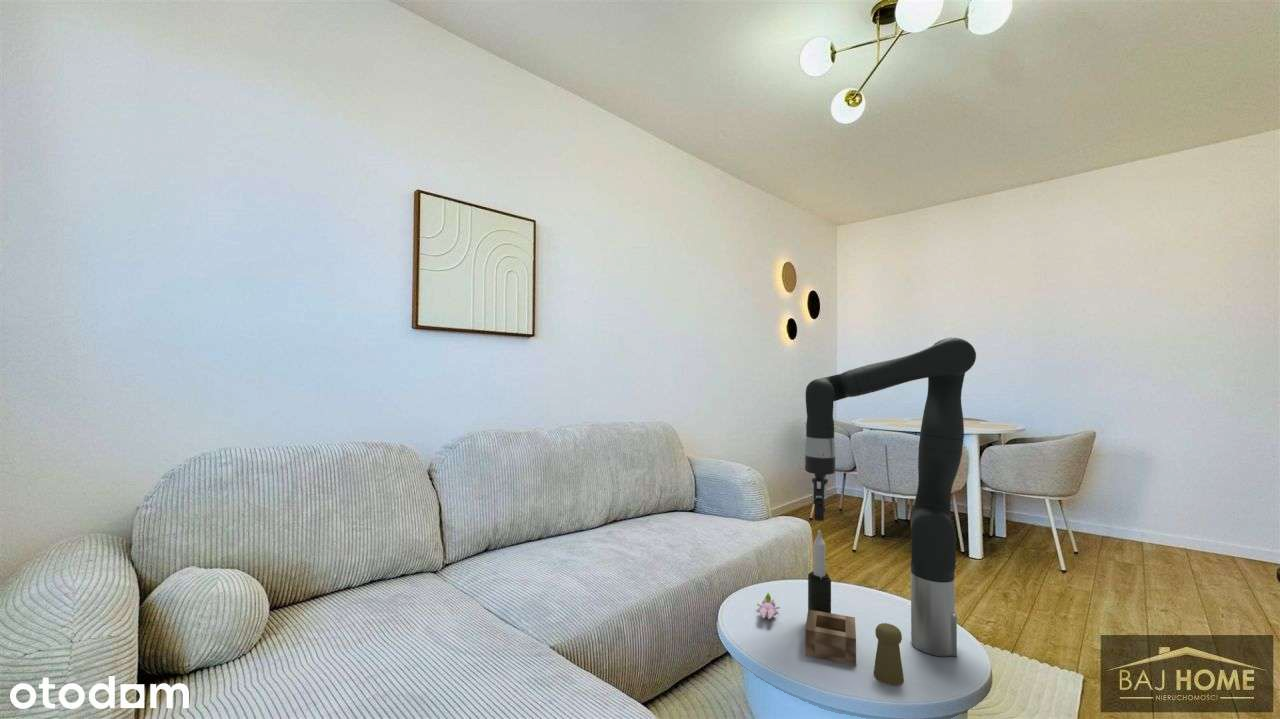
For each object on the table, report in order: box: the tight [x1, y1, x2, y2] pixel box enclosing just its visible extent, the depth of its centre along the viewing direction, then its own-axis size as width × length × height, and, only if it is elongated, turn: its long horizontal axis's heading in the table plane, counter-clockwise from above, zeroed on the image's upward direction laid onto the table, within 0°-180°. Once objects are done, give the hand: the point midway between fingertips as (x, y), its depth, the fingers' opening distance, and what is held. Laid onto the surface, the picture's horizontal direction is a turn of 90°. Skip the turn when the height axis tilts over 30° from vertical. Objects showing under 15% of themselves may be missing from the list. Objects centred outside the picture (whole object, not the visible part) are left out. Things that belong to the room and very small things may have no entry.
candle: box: [807, 529, 832, 613], centre depth 134 cm, size 5×5×25 cm
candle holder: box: [804, 608, 857, 667], centre depth 123 cm, size 11×11×6 cm
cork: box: [873, 622, 905, 687], centre depth 111 cm, size 6×6×11 cm
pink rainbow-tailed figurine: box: [756, 592, 781, 620], centre depth 139 cm, size 6×6×15 cm
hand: (819, 516), depth 134 cm, fingers open, 8 cm apart
